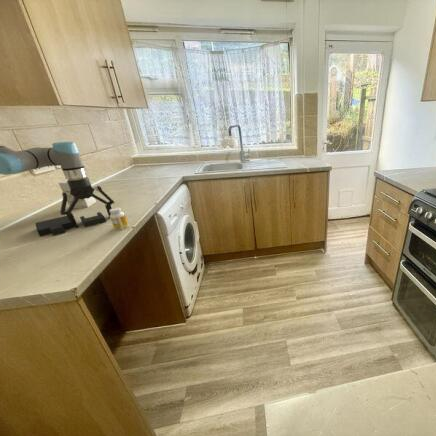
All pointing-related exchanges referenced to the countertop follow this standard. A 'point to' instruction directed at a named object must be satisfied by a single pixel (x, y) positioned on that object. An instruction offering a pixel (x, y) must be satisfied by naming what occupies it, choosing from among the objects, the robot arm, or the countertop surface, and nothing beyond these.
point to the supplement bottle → (118, 219)
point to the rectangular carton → (80, 203)
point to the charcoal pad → (54, 226)
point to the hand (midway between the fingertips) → (94, 222)
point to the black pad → (93, 220)
